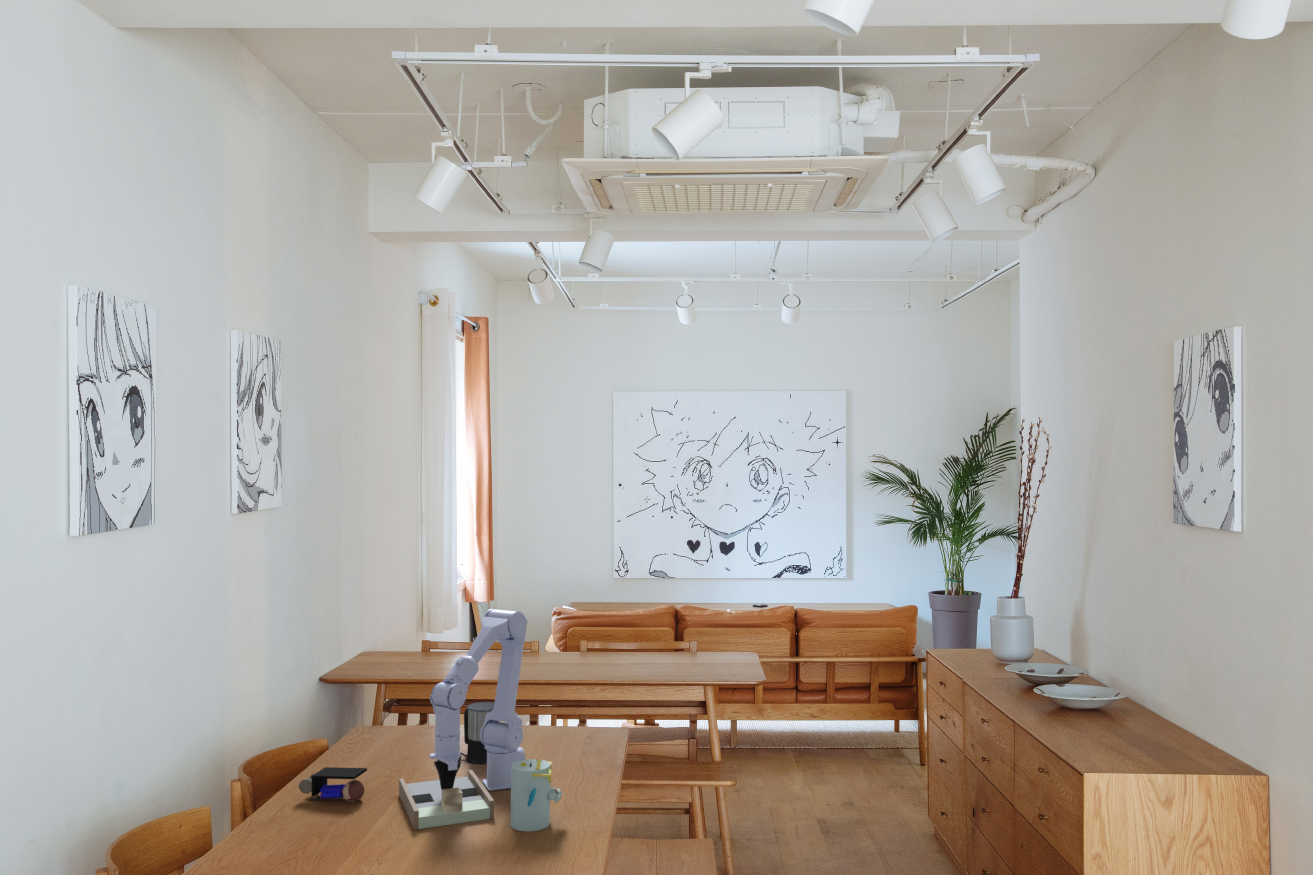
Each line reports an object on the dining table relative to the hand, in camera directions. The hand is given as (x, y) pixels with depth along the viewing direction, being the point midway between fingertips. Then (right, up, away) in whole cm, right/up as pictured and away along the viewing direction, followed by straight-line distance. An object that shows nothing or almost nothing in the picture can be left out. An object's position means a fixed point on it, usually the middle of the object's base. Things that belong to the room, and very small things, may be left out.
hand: (446, 792), depth 218 cm
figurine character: (-29, -4, +6) cm, 30 cm away
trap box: (-1, -4, +2) cm, 4 cm away
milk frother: (-2, -6, +37) cm, 37 cm away
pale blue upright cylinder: (+22, -4, -9) cm, 24 cm away
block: (+3, -1, -7) cm, 8 cm away
